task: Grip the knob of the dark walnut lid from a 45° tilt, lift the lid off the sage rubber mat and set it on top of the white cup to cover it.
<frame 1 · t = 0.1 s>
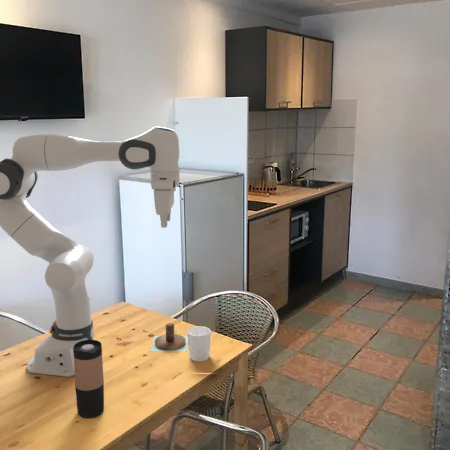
hand: (165, 223, 158), 48 cm above the table, tool pointing down, fingers open, 8 cm apart
lid: (170, 343, 181), resting on mat
travel mug: (91, 411, 140), on the table
mat: (170, 344, 182), on the table
white cup: (199, 358, 172), on the table
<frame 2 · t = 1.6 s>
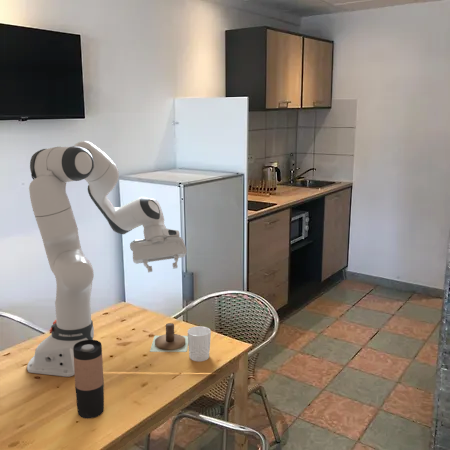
hand: (163, 269, 185), 25 cm above the table, tool tilted 45°, fingers open, 8 cm apart
nothing on the table moved.
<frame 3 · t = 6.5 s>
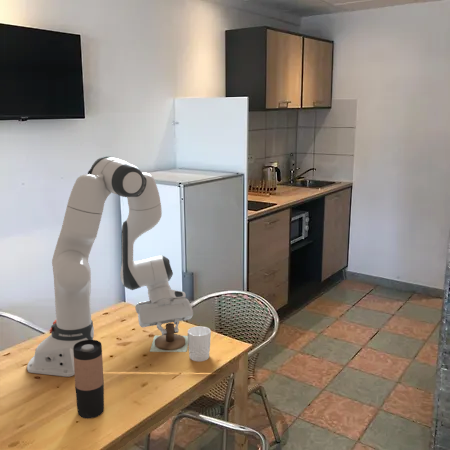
hand: (170, 333, 180), 5 cm above the table, tool tilted 45°, fingers closed on lid, 3 cm apart
lid: (170, 343, 181), point 1 cm above the table, touching gripper, mat
everything else where it was.
when the fingers open (16 cm above the table, at t = 11.2 s): lid drops 2 cm, resting on white cup.
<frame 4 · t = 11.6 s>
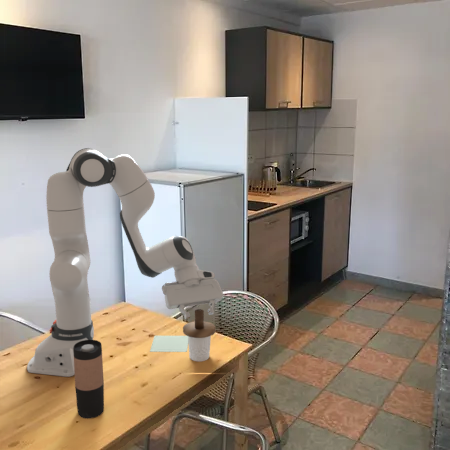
hand: (199, 316, 168), 16 cm above the table, tool tilted 45°, fingers open, 7 cm apart
lid: (199, 330, 170), point 10 cm above the table, touching white cup
white cup: (199, 358, 172), on the table, touching lid
everything else where it was.
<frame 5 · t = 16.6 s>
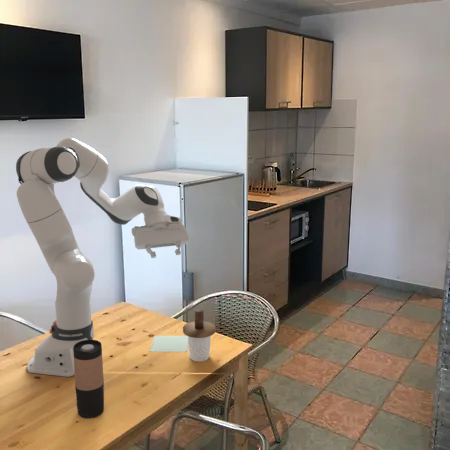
hand: (166, 255, 182), 31 cm above the table, tool tilted 45°, fingers open, 8 cm apart
nothing on the table moved.
at the end: lid 0.0 cm off-centre on the white cup, point 10.2 cm above the white cup's base; lid tilted 0°; white cup tilted 0° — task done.
